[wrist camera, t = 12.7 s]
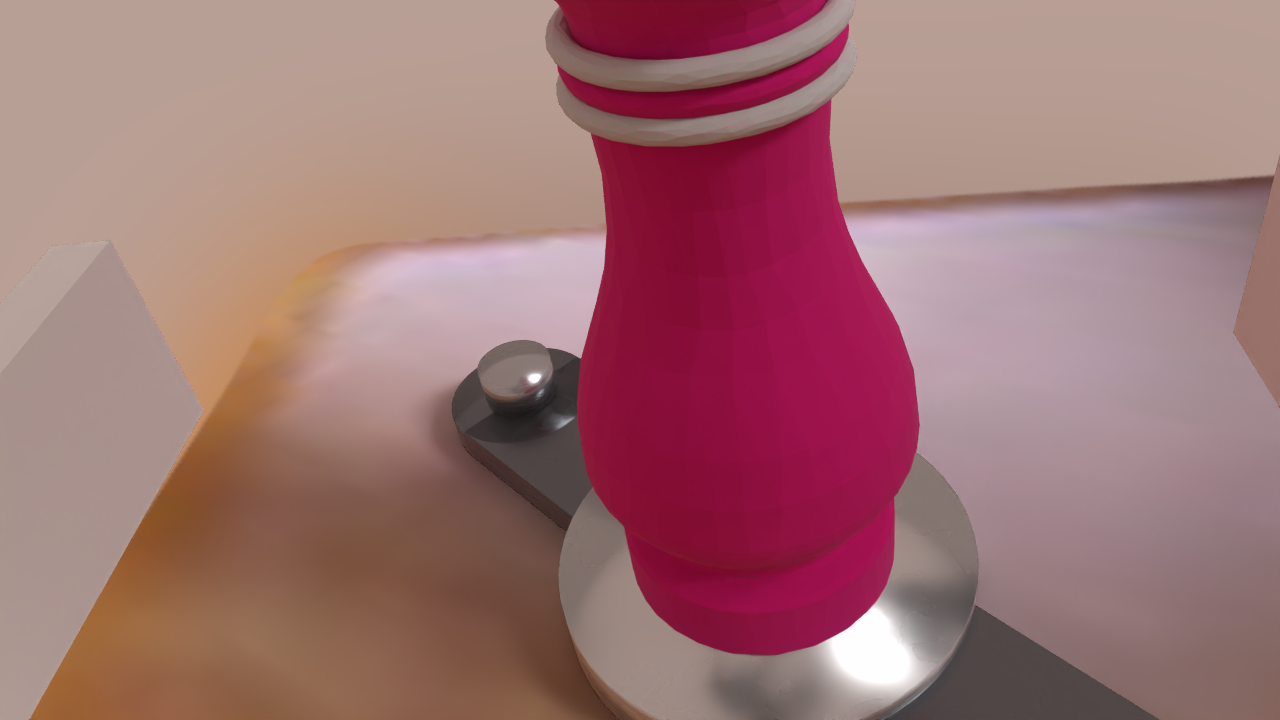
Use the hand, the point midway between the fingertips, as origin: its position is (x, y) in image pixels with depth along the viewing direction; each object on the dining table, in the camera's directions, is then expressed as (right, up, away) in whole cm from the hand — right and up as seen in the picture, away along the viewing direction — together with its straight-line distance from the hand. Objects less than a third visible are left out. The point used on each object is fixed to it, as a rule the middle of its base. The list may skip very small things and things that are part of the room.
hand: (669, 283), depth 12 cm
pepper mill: (+3, -6, +13) cm, 15 cm away
